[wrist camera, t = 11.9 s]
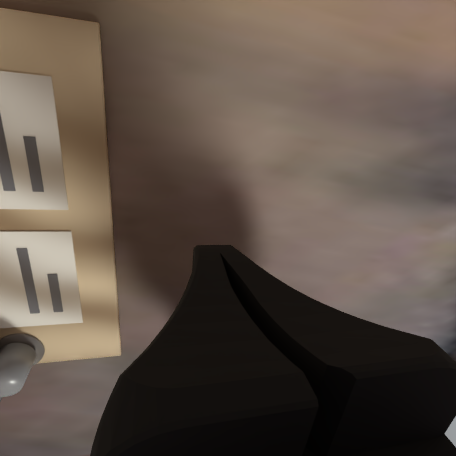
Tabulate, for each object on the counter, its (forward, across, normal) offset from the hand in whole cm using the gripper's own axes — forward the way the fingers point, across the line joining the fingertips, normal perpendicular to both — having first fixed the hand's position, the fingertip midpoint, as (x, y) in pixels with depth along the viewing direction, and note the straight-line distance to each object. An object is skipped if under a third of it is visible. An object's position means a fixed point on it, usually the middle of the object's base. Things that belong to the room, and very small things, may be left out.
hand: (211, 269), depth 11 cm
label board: (+10, +12, +3) cm, 16 cm away
